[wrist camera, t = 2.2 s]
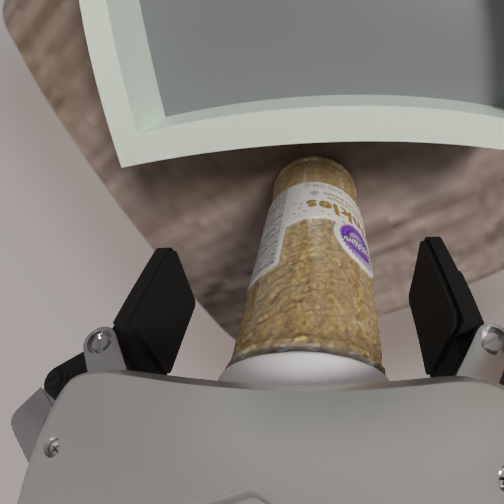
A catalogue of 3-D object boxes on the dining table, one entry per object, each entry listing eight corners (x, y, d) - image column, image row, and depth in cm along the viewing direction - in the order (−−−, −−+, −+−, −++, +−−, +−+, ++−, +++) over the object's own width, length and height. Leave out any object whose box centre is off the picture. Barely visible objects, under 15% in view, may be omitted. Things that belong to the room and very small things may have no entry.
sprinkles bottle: (371, 181, 15) (434, 450, 5) (326, 239, 18) (317, 482, 7) (297, 136, 14) (249, 415, 4) (258, 203, 17) (180, 451, 7)
